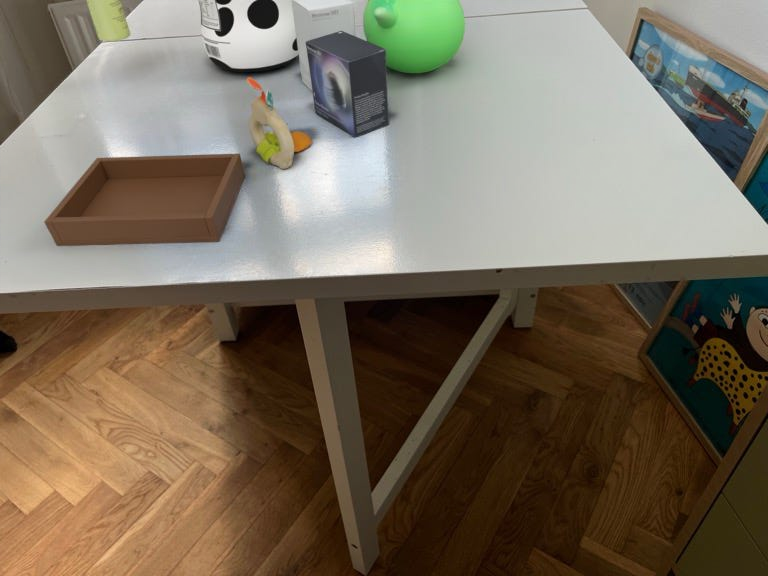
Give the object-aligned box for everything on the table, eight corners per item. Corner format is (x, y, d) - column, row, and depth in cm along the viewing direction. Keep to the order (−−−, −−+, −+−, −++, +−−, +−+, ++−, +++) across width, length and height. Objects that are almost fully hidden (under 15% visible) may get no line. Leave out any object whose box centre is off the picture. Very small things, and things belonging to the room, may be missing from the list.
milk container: (315, 45, 104) (302, -67, 92) (295, 80, 92) (277, -44, 80) (226, 46, 106) (202, -64, 94) (195, 80, 93) (162, -41, 81)
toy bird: (480, 78, 89) (487, -24, 79) (381, 96, 85) (376, -9, 75) (434, 45, 102) (436, -47, 92) (347, 59, 98) (339, -35, 88)
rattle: (333, 160, 71) (322, 69, 63) (274, 179, 68) (255, 87, 60) (307, 138, 75) (294, 52, 68) (251, 156, 72) (231, 67, 65)
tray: (56, 245, 59) (43, 221, 57) (106, 180, 69) (96, 157, 67) (219, 241, 58) (212, 217, 56) (245, 175, 69) (240, 153, 66)
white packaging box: (317, 98, 86) (306, 9, 77) (301, 82, 91) (289, -2, 82) (360, 88, 88) (354, 1, 80) (343, 73, 93) (335, -10, 85)
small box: (311, 114, 81) (301, 40, 74) (348, 102, 84) (342, 29, 77) (353, 139, 75) (346, 60, 68) (391, 124, 78) (388, 47, 71)
